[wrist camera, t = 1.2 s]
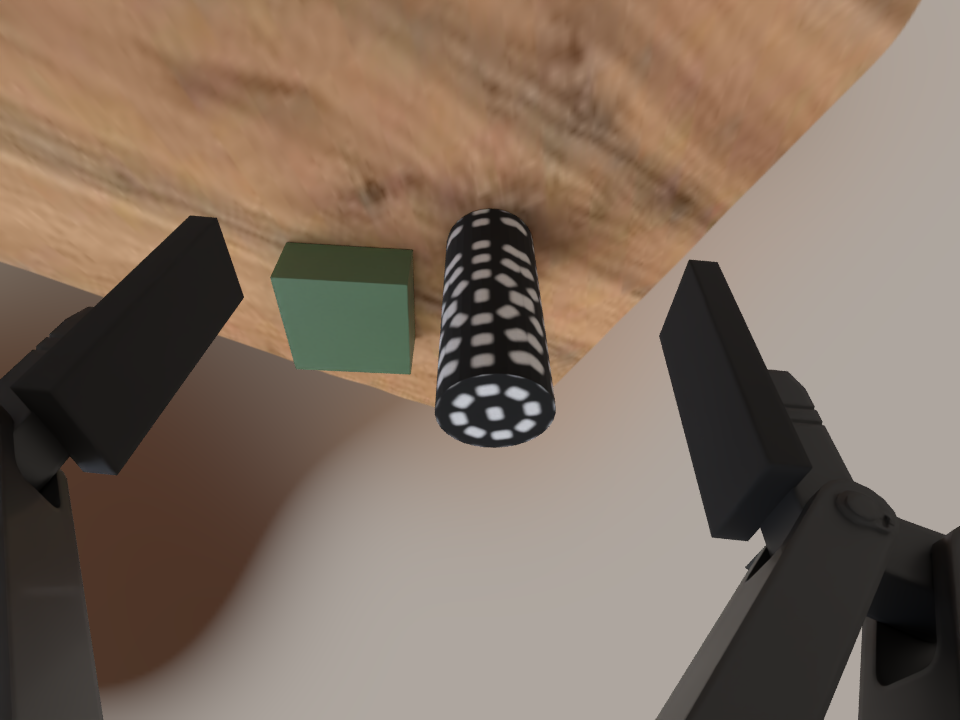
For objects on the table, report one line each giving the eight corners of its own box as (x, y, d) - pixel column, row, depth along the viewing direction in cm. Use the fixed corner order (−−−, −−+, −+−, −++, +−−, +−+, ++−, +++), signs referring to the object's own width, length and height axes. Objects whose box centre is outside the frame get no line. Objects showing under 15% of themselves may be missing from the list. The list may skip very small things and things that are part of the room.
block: (307, 333, 57) (295, 369, 53) (286, 242, 48) (269, 277, 44) (415, 338, 57) (410, 374, 53) (412, 249, 49) (407, 285, 45)
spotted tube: (538, 274, 51) (561, 439, 37) (458, 288, 52) (452, 453, 38) (526, 200, 45) (548, 364, 31) (436, 218, 46) (419, 384, 32)
